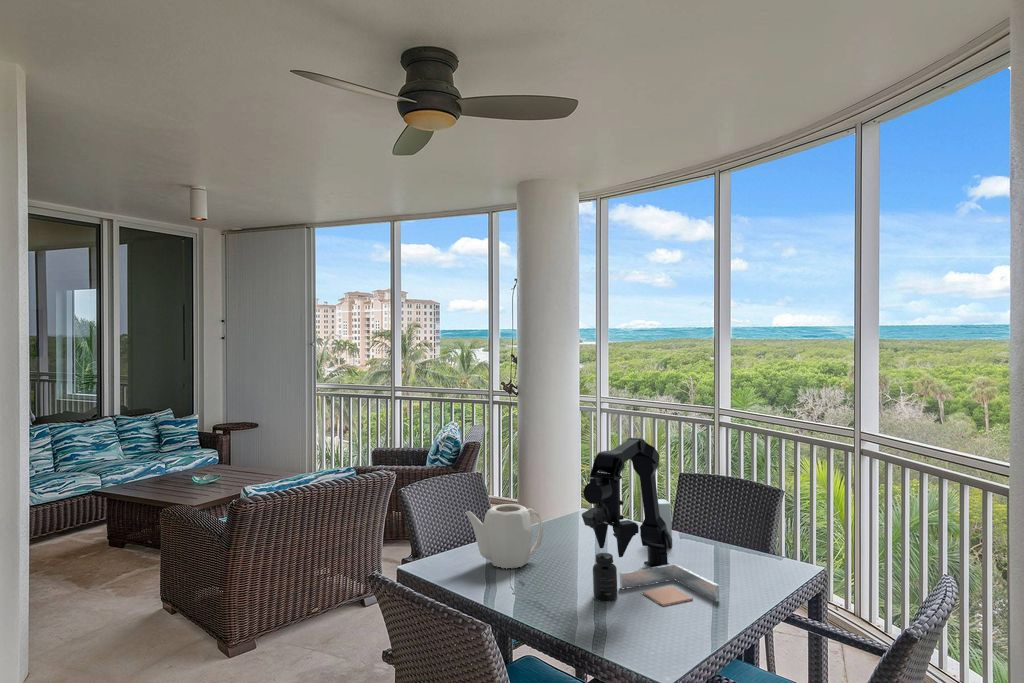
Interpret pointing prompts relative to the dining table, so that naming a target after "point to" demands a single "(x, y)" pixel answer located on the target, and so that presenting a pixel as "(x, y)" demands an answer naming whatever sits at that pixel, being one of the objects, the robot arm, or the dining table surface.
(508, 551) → the white teapot
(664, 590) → the terracotta tile
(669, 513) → the skincare box
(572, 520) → the dining table surface
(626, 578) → the corner walls
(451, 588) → the dining table surface
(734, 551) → the dining table surface
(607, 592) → the supplement bottle
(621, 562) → the dining table surface
